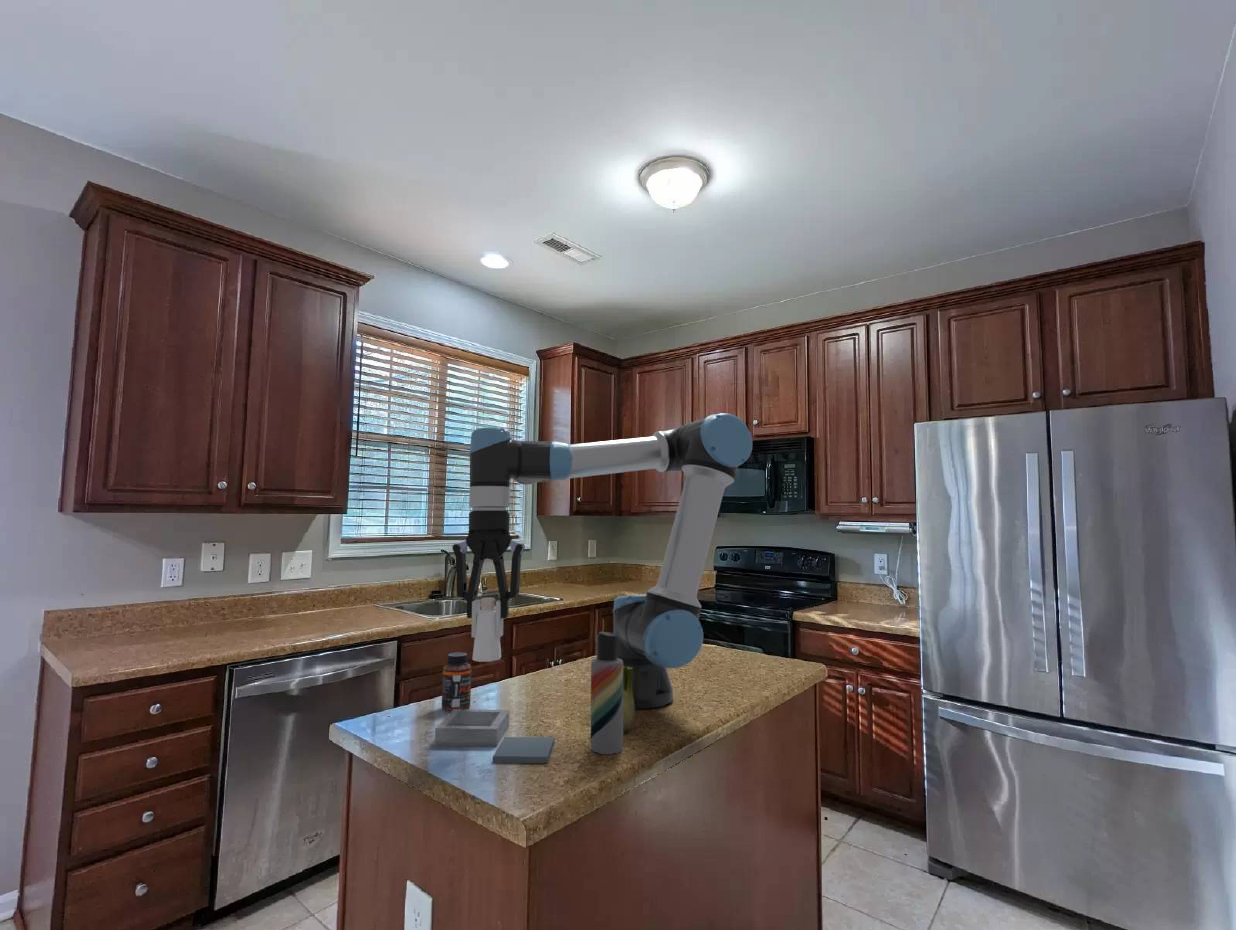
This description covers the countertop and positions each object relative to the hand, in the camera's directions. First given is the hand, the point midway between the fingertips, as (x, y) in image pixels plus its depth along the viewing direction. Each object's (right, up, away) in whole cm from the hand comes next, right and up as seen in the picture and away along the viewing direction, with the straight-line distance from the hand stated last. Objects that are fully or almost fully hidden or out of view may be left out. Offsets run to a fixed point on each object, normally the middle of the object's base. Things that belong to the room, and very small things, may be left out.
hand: (487, 635), depth 112 cm
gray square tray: (-3, -19, 0) cm, 19 cm away
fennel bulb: (+24, -19, +2) cm, 31 cm away
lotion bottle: (+22, -18, -7) cm, 29 cm away
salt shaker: (0, -4, 0) cm, 4 cm away
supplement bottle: (-10, -20, +16) cm, 28 cm away
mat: (+8, -18, -8) cm, 21 cm away
